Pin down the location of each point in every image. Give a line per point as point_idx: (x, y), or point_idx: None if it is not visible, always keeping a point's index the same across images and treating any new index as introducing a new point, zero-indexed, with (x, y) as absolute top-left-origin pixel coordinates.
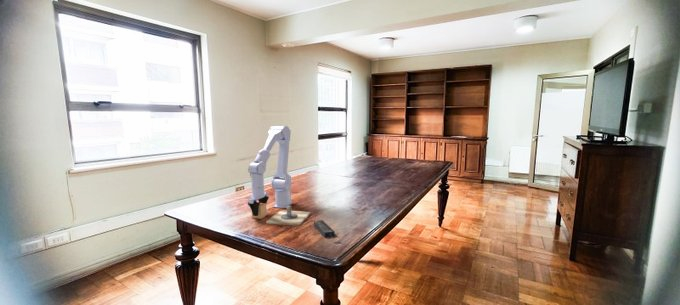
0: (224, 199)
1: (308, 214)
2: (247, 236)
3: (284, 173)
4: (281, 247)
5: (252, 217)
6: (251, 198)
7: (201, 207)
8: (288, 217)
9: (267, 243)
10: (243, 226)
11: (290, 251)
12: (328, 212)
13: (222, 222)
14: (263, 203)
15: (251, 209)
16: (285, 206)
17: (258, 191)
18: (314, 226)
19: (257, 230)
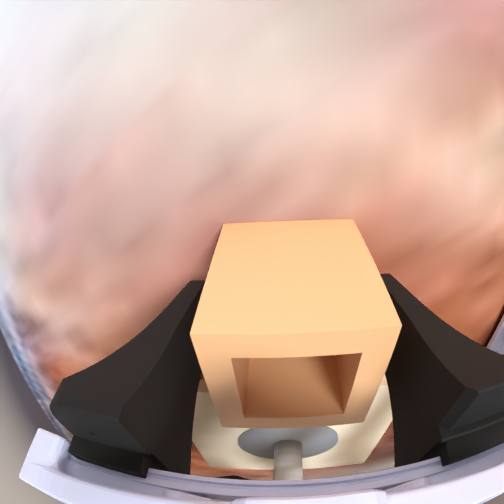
0: None
1: (335, 465)
2: (15, 344)
3: None
4: (62, 430)
5: (223, 231)
6: (89, 500)
7: None
8: (265, 446)
9: (46, 406)
10: (46, 268)
11: (67, 440)
12: (378, 470)
13: (25, 30)
14: (359, 407)
15: (143, 334)
16: (499, 348)
17: None
18: (226, 477)
19: (70, 363)
